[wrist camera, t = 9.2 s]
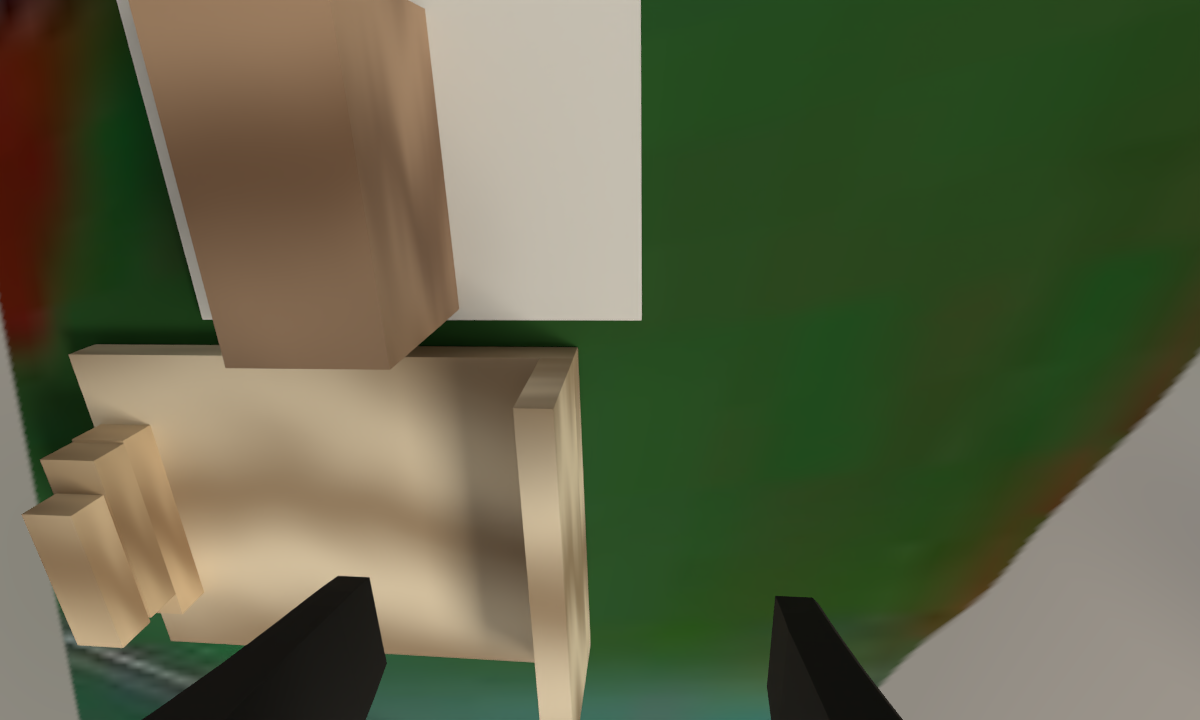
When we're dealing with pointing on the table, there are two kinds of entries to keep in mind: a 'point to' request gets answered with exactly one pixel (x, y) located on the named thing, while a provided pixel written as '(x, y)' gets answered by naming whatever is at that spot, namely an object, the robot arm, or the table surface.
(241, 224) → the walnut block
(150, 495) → the offcut stack
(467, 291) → the grey mat
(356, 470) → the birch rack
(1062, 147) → the table surface
